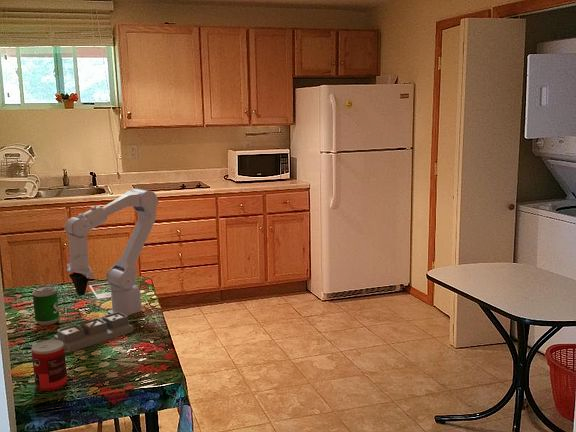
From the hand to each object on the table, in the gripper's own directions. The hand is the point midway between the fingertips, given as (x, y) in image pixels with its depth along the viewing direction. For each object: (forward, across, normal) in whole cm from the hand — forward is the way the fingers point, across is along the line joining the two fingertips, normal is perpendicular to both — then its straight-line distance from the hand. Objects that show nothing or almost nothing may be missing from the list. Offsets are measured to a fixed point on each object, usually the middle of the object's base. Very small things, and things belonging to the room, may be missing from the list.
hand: (81, 294), depth 193 cm
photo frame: (+10, -25, +25) cm, 37 cm away
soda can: (+11, -11, -7) cm, 17 cm away
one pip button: (+8, +12, -10) cm, 18 cm away
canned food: (+11, +33, -25) cm, 43 cm away
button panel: (+10, +12, -2) cm, 16 cm away
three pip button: (+8, +12, -2) cm, 15 cm away
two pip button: (+8, +12, +5) cm, 15 cm away
